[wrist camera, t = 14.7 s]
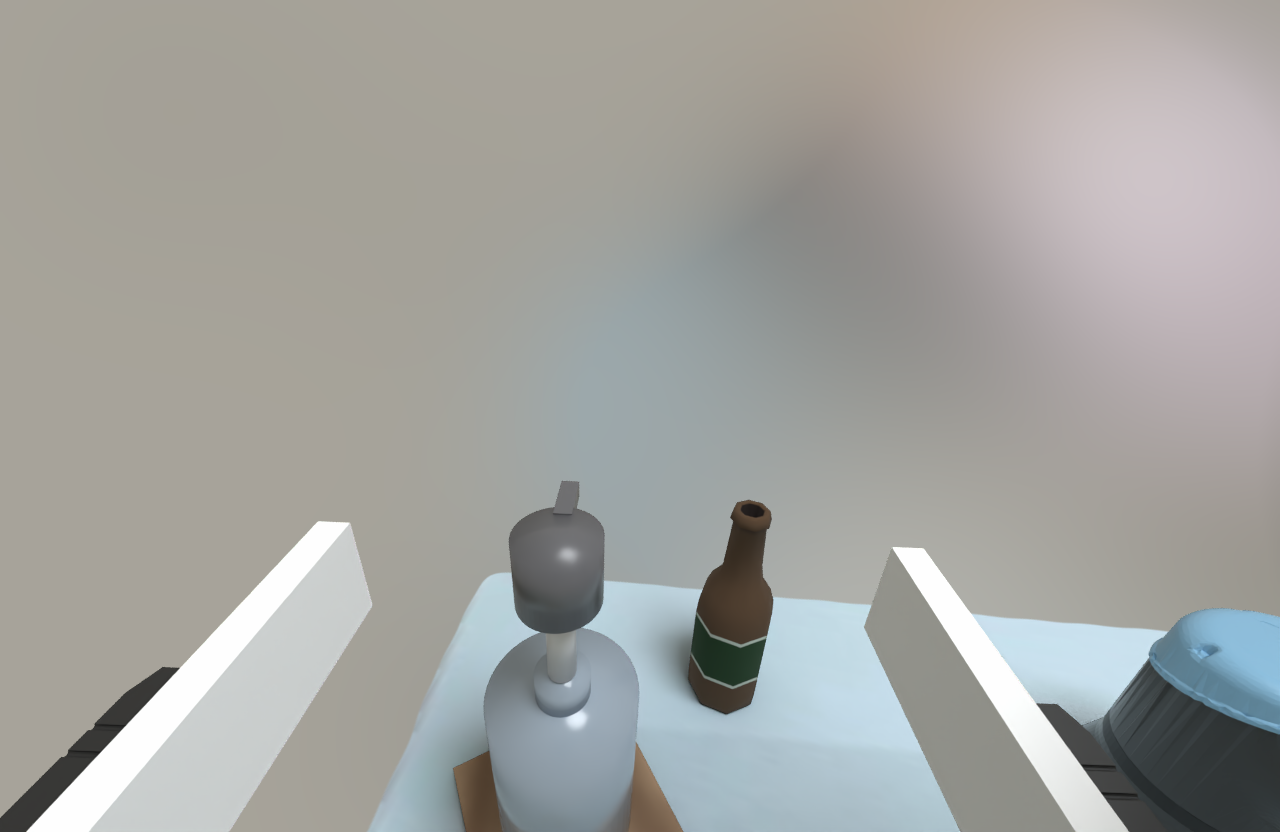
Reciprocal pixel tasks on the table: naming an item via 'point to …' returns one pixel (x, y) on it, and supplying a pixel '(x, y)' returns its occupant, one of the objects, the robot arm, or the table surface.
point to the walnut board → (648, 828)
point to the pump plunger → (558, 576)
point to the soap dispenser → (563, 738)
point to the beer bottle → (733, 616)
